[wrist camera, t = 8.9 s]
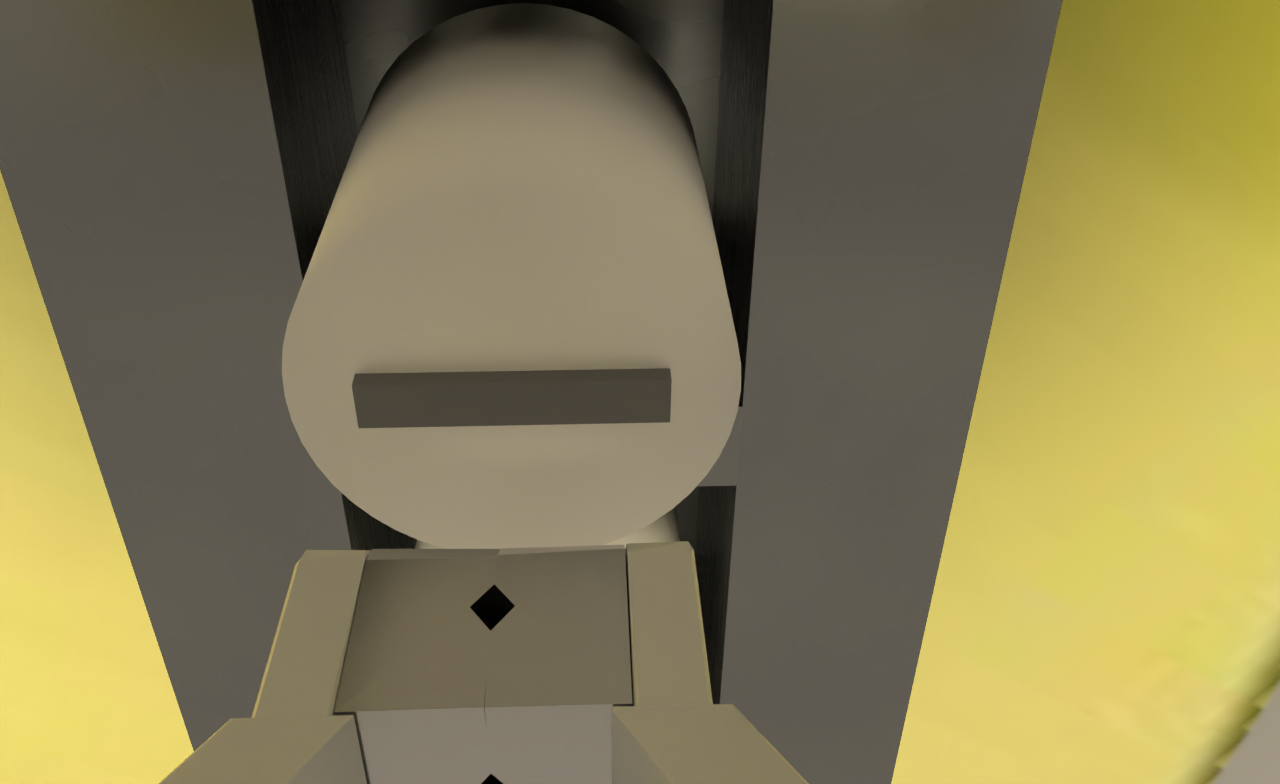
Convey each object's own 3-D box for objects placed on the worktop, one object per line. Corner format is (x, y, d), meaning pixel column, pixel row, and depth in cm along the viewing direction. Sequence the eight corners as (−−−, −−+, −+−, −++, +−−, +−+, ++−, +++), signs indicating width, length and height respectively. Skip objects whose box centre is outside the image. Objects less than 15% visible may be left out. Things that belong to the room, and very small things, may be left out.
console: (284, 573, 25) (214, 814, 21) (-87, -1035, 12) (-537, -1439, 7) (830, 560, 26) (889, 791, 21) (1054, -998, 13) (1357, -1349, 8)
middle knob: (337, 3, 14) (235, 196, 10) (704, 2, 14) (759, 191, 10) (381, 316, 17) (315, 576, 12) (691, 311, 17) (730, 566, 12)
